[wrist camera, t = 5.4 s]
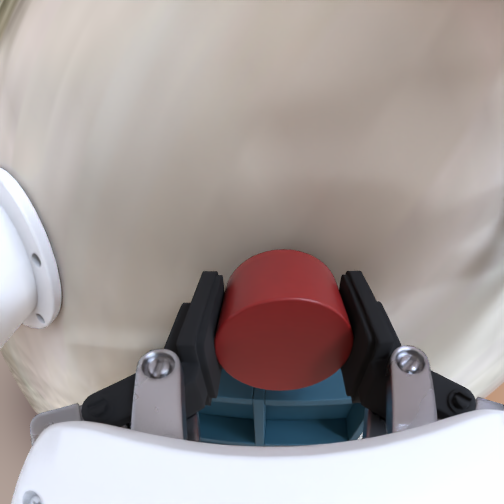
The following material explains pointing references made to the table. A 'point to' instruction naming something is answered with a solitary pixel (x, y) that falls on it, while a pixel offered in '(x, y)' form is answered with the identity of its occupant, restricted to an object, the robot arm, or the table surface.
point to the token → (282, 322)
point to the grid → (281, 415)
